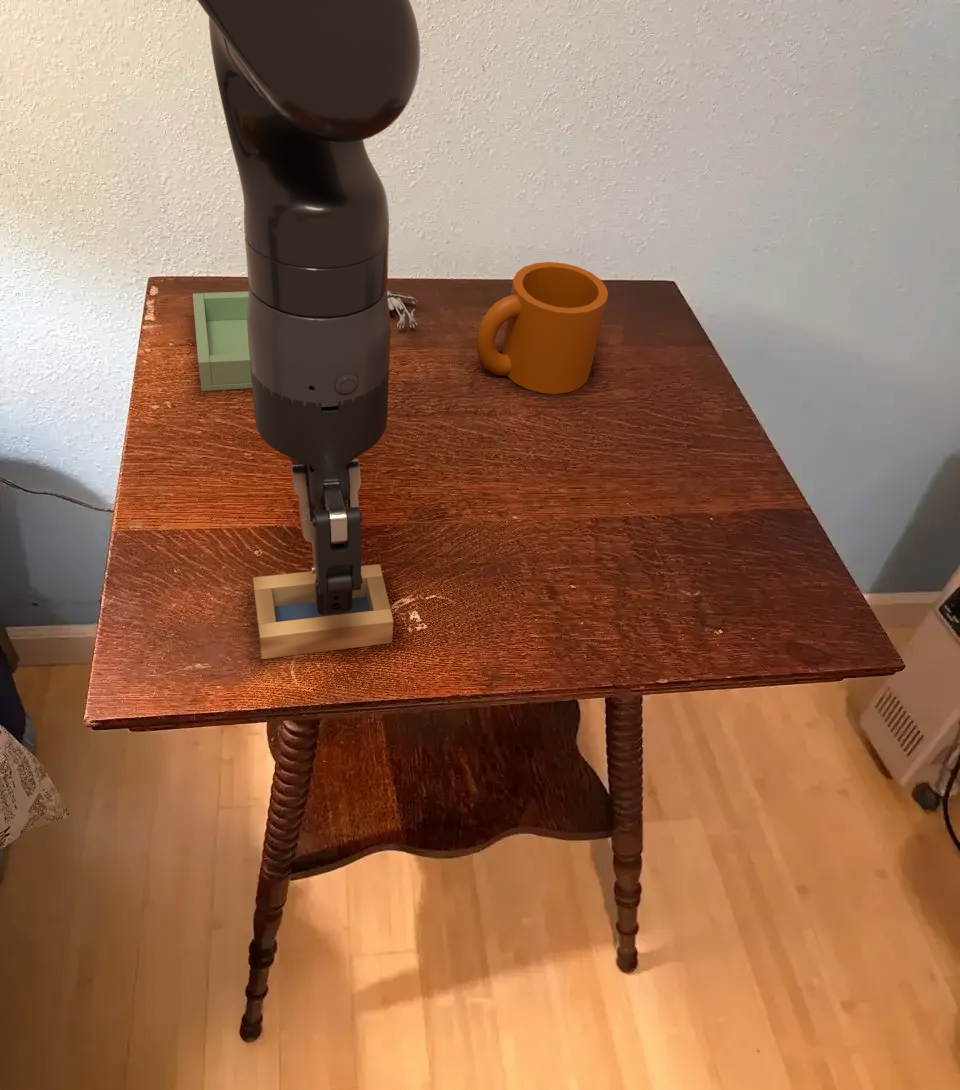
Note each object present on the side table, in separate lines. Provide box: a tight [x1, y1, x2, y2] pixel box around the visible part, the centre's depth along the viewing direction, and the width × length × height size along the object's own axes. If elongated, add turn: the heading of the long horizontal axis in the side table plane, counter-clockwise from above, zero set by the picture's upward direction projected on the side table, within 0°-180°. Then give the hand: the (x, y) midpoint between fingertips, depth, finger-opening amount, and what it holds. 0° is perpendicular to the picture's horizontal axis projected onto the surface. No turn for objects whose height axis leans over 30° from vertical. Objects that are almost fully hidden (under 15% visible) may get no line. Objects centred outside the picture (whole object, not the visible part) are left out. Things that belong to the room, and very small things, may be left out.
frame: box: [252, 563, 395, 660], centre depth 66 cm, size 9×6×2 cm, turn 104°
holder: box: [192, 291, 252, 392], centre depth 89 cm, size 14×12×3 cm
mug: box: [475, 261, 609, 395], centre depth 89 cm, size 9×12×9 cm
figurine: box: [387, 290, 418, 329], centre depth 96 cm, size 6×2×8 cm
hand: (325, 561), depth 63 cm, fingers open, 8 cm apart
